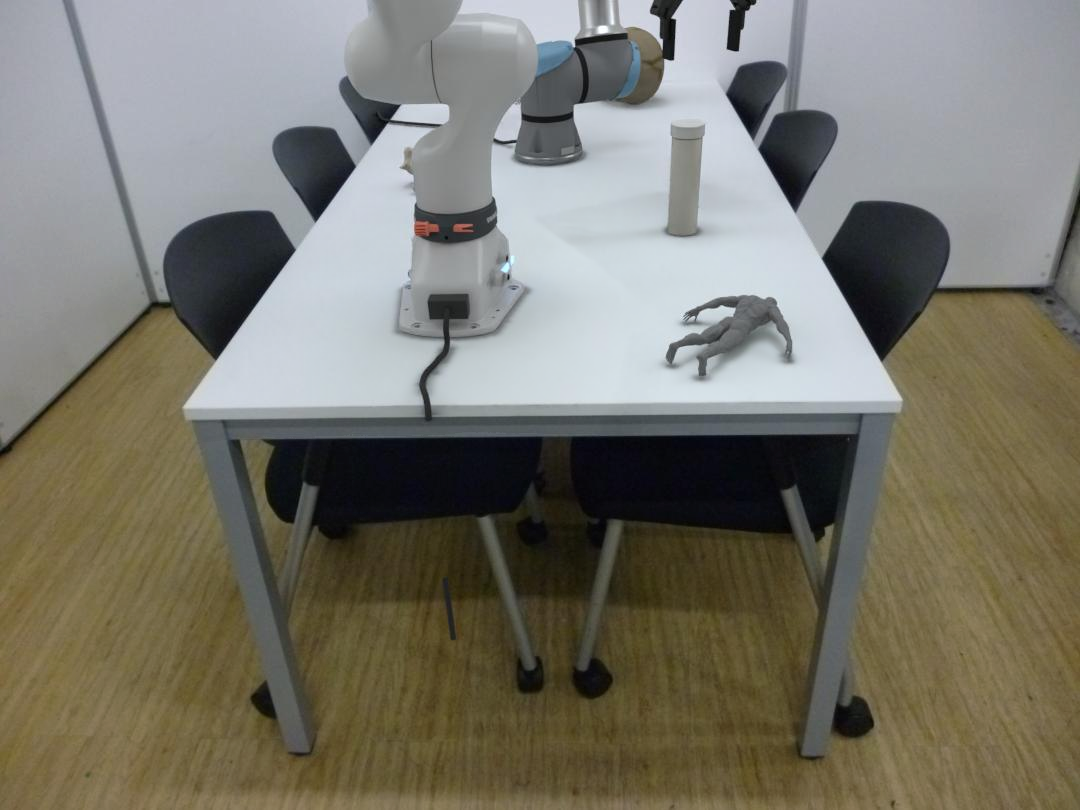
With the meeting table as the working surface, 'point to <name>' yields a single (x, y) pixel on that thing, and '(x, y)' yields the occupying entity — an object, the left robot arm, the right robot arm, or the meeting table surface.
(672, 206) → the jar
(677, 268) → the meeting table surface
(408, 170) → the bone
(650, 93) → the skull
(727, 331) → the figurine
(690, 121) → the lid
